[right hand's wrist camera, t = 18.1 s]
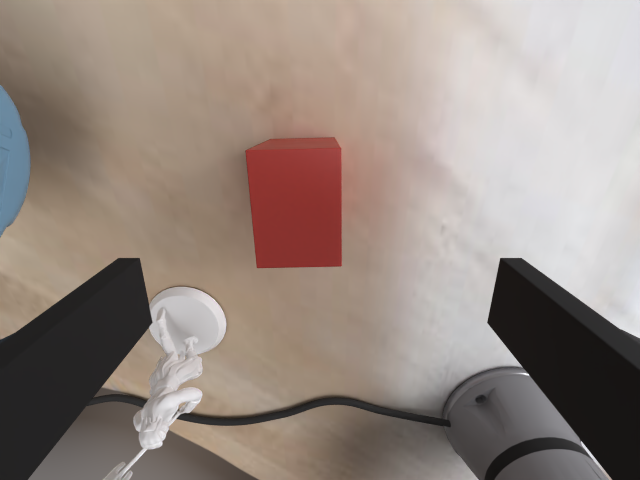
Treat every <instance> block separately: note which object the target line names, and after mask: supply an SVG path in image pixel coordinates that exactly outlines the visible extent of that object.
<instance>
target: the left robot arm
mask: <svg viewBox="0 0 640 480" xmlns="http://www.w3.org/2000/svg"><path fill="white" fill-rule="evenodd" d="M30 163H31V162H30V150H29V143H28V138H27V134H26V131H25V130H24V128H23V126H22V124H21V119H20V115H19V112H18V110H17V108H16V106H15V105H14V103H13V101H12V100H11V98H10V96H9V95H8V93H7V92H6V91H5V89H4V88H3V87H2V86H1V85H0V237H1V235H2V234H3V232H4V230H5V228H6V227H8V226H10V225H11V224H12V223H13V222H14V220H15V219H16V217H17V215H18V213H19V211H20V209H21V207H22V204H23V202H24V200H25V197H26V193H27V189H28V184H29V178H30Z"/></svg>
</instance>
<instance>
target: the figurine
mask: <svg viewBox="0 0 640 480" xmlns="http://www.w3.org/2000/svg"><path fill="white" fill-rule="evenodd" d="M149 307H150V312H151V317H152V322H153V323H152V324H151V325H150V327H149V329H150V331H151V334H152V336H153V337H154V339H155V340H156V341H157V342H158V343H159V344H160V345H161V346H162V348H163V350H164V352H165V353H166V354H167V356H168V357H167V356H165V357H164V358H163V359H162V357H161V358H160V360H159V361H158V363H157V366H156V369H155V370H154V372H153V373H152V375H151V376H150V379H149V383H150V386H151V389H150V394H151V397H150V398H149V400H148V401H147V402H146V404H145V405H144V407H143V409H142V410H140V411H138V412H137V413H136V415H135V416H134V419H133V422H134V425H135V428H136V430H137V431H139V441H140V444H141V446H142V447H143V449H142V450H141V451H140V452H139V453H138V454H137V456H136V457H135V458H134V459H133V460H132V461H131V462H130V463H129V464H128V465H127V466H126V467H125V468H124V469H123V470H122V471H121V472H120V473H119V474H118V472H119V470H120V469H121V468H122V467H124V466H125V465H126V464H125V463H124V462H121V463H120V464H118V465H117V466H116V467H115V468H113V470H112V471H111V472H110V473H109V474H108V475H107V476H106V477H105V478H104V479H103V480H129V479H130V478H131V476H132V474H133V473H132V472H131V470H130V471H129V472H128V473H127V474H126V476H125V477H124V478H123V479H121V477H122V476H123V475H124V473H125V472H126V471H127V470H128V469H129V468H130V467H131V466H132V465H133V464H134V463H135V462H136V461H137V460H138V459H139V458H140V456H141V455H142V454H143V453H144V452H145V451H146V450H147V449H154V448H158V447H160V446H162V441H163V440H164V439H165V437H166V433H167V431H168V430H169V426H170V425H171V424H172V423H173V422H174V420H175V419H176V418H177V417H178V416H179V415H180V414H183V413H190V412H191V411H192V410H193V409H194V408H195V407H196V405H197V404H198V403H199V402H200V400H201V397H202V391H201V390H199V389H198V388H194V387H188V388H184V389H181V390H178V391H176V390H177V389H178V387H179V385H181V384H183V383H184V382H186V381H188V380H193V379H195V378H197V377H199V376H200V375H201V374H202V372H203V367H202V363H201V361H202V358H201V357H198V355H197V354H201V353H204V352H207V351H210V350H211V349H213V348H215V347H216V346H217V345H218V344H219V343H220V342H221V340H222V339H223V337H224V334H225V332H226V318H225V315H224V312H223V310H222V309H221V307H220V305H219V304H218V303H217V302H216V301H215V300H214V299H213V298H212V297H210V296H209V295H208V294H206V293H204V292H202V291H200V290H197V289H194V288H190V287H173V288H169V289H166V290H164V291H162V292H160V293H159V294H157V295H156V296H155V297H154V299H153V300H152V301H151V303H150V305H149ZM177 354H180V358H178V355H177ZM185 355H186V357H187V359H186V360H185ZM183 402H186V403H185V405H183V406H182V407H181V408H180V409H179V411H177V409H178V407H179V404H180V403H183ZM176 411H177V414H176V415H175V416H174V417H173V415H174V414H175V413H176ZM172 417H173V418H172ZM171 418H172V419H171Z"/></svg>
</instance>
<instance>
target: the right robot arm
mask: <svg viewBox="0 0 640 480" xmlns="http://www.w3.org/2000/svg"><path fill="white" fill-rule="evenodd" d="M152 323H153V322H152V317H151V312H150V307H149V302H148V297H147V292H146V287H145V282H144V277H143V272H142V267H141V262H140V258H118V259H117V260H115V261H114V262H113V263H111V264H110V265H108V266H107V267H106V268H104V269H103V270H101V271H100V272H99V273H97V274H96V275H95V276H93V277H92V278H90V279H89V280H88V281H86V282H85V283H83V284H82V285H81V286H79V287H78V288H77V289H75V290H74V291H72V292H71V293H70V294H68V295H67V296H65V297H64V298H63V299H61V300H60V301H59V302H57V303H56V304H54V305H53V306H52V307H50V308H49V309H47V310H46V311H45V312H43V313H42V314H41V315H39V316H38V317H36V318H35V319H34V320H32V321H31V322H30V323H28V324H27V325H25V326H24V327H23V328H21V329H20V330H18V331H17V332H16V333H14V334H12V335H10V336H8V337H5V338H3V339H1V340H0V480H28V479H29V477H30V476H31V475H32V474H33V472H34V471H35V470H36V468H37V467H38V466H39V465H40V463H41V462H42V461H43V460H44V458H45V457H46V456H47V455H48V453H49V452H50V451H51V450H52V448H53V447H54V446H55V445H56V443H57V442H58V441H59V440H60V438H61V437H62V436H63V435H64V433H65V432H66V431H67V430H68V428H69V427H70V426H71V425H72V423H73V422H74V421H75V420H76V418H77V417H78V416H79V415H80V413H81V412H82V411H83V409H84V408H85V407H86V406H89V405H93V404H98V403H103V402H110V401H118V402H125V403H130V404H134V405H137V406H140V407H144V405H145V404H146V402H147V401H145V400H142V399H139V398H136V397H132V396H128V395H120V394H112V395H105V396H99V397H95V398H93V397H94V396H95V394H96V393H97V392H98V391H99V389H100V388H101V387H102V386H103V384H104V383H105V382H106V381H107V379H108V378H109V377H110V376H111V374H112V373H113V372H114V371H115V369H116V368H117V367H118V366H119V364H120V363H121V362H122V361H123V359H124V358H125V357H126V355H127V354H128V353H129V352H130V350H131V349H132V348H133V347H134V345H135V344H136V343H137V342H138V340H139V339H140V338H141V337H142V335H143V334H144V333H145V332H146V330H147V329H148V328H149V327H150V325H151V324H152ZM487 323H488V324H489V325H490V327H491V328H492V329H493V330H494V332H495V333H496V334H497V335H498V337H499V338H500V339H501V340H502V342H503V343H504V344H505V345H506V347H507V348H508V349H509V350H510V352H511V353H512V354H513V355H514V357H515V358H516V359H517V361H518V362H519V363H520V364H521V366H522V367H523V368H524V369H523V368H514V367H507V368H498V369H493V370H489V371H486V372H483V373H480V374H478V375H476V376H474V377H472V378H470V379H468V380H467V381H465V382H464V383H463V384H461V385H460V386H459V387H458V388H457V389H456V390H455V391H454V392H453V393H452V395H451V396H450V397H449V399H448V401H447V403H446V405H445V407H444V411H443V419H440V418H435V417H429V416H423V415H418V414H412V413H407V412H402V411H396V410H391V409H386V408H382V407H378V406H374V405H371V404H367V403H364V402H361V401H357V400H353V399H348V398H324V399H319V400H315V401H311V402H308V403H306V404H303V405H300V406H297V407H294V408H291V409H288V410H284V411H280V412H275V413H270V414H265V415H260V416H255V417H248V418H235V419H222V418H209V417H201V416H196V415H191V414H186V413H183V414H180V415H179V416H178V417H177V418H176V419H179V420H184V421H189V422H194V423H200V424H207V425H221V426H234V425H247V424H254V423H260V422H265V421H270V420H275V419H280V418H284V417H288V416H292V415H295V414H298V413H301V412H303V411H306V410H309V409H312V408H315V407H319V406H324V405H348V406H353V407H357V408H361V409H364V410H367V411H371V412H374V413H378V414H382V415H387V416H392V417H397V418H402V419H407V420H412V421H418V422H423V423H429V424H434V425H440V426H444V429H445V432H446V435H447V437H448V440H449V441H450V443H451V445H452V447H453V448H454V450H455V451H456V453H457V454H458V455H459V456H460V457H461V458H462V459H463V460H464V462H465V463H466V464H467V466H468V467H469V468H470V469H471V471H472V472H473V473H474V474H475V475H476V477H477V478H478V479H479V480H609V479H608V478H607V477H606V475H605V474H604V473H603V472H602V470H601V469H600V468H599V467H598V466H597V464H596V463H595V462H594V461H593V459H592V458H591V457H590V456H589V454H588V453H587V452H586V450H585V449H584V448H583V446H582V444H581V441H582V442H583V443H584V445H585V446H586V447H587V448H588V450H589V451H590V452H591V453H592V455H593V456H594V457H595V458H596V460H597V461H598V462H599V464H600V465H601V466H602V467H603V469H604V470H605V471H606V472H607V474H608V475H609V476H610V477H611V479H612V480H640V338H638V337H636V336H634V335H631V334H629V333H627V332H625V331H623V330H621V329H619V328H617V327H616V326H615V325H613V324H612V323H610V322H609V321H608V320H606V319H605V318H604V317H602V316H601V315H599V314H598V313H597V312H595V311H594V310H593V309H591V308H590V307H588V306H587V305H586V304H584V303H583V302H581V301H580V300H579V299H577V298H576V297H575V296H573V295H572V294H570V293H569V292H568V291H566V290H565V289H563V288H562V287H561V286H559V285H558V284H557V283H555V282H554V281H552V280H551V279H550V278H548V277H547V276H545V275H544V274H543V273H541V272H540V271H539V270H537V269H536V268H534V267H533V266H532V265H530V264H529V263H527V262H526V261H525V260H523V259H522V258H500V262H499V267H498V272H497V277H496V282H495V287H494V292H493V297H492V302H491V307H490V312H489V317H488V322H487ZM176 414H177V411H176V413H175V414H174V415H173V417H174V416H175V415H176ZM173 417H172V418H173Z"/></svg>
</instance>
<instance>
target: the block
mask: <svg viewBox="0 0 640 480" xmlns="http://www.w3.org/2000/svg"><path fill="white" fill-rule="evenodd" d="M246 160H247V171H248V181H249V191H250V202H251V212H252V222H253V233H254V243H255V254H256V264H257V268H285V267H332V266H342V237H341V147H340V146H339V144H338V142H337V141H336V139H335V138H296V139H270V140H268V141H265V142H263V143H261V144H259V145H257V146H254V147H252V148H250V149H248V150H246Z"/></svg>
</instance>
